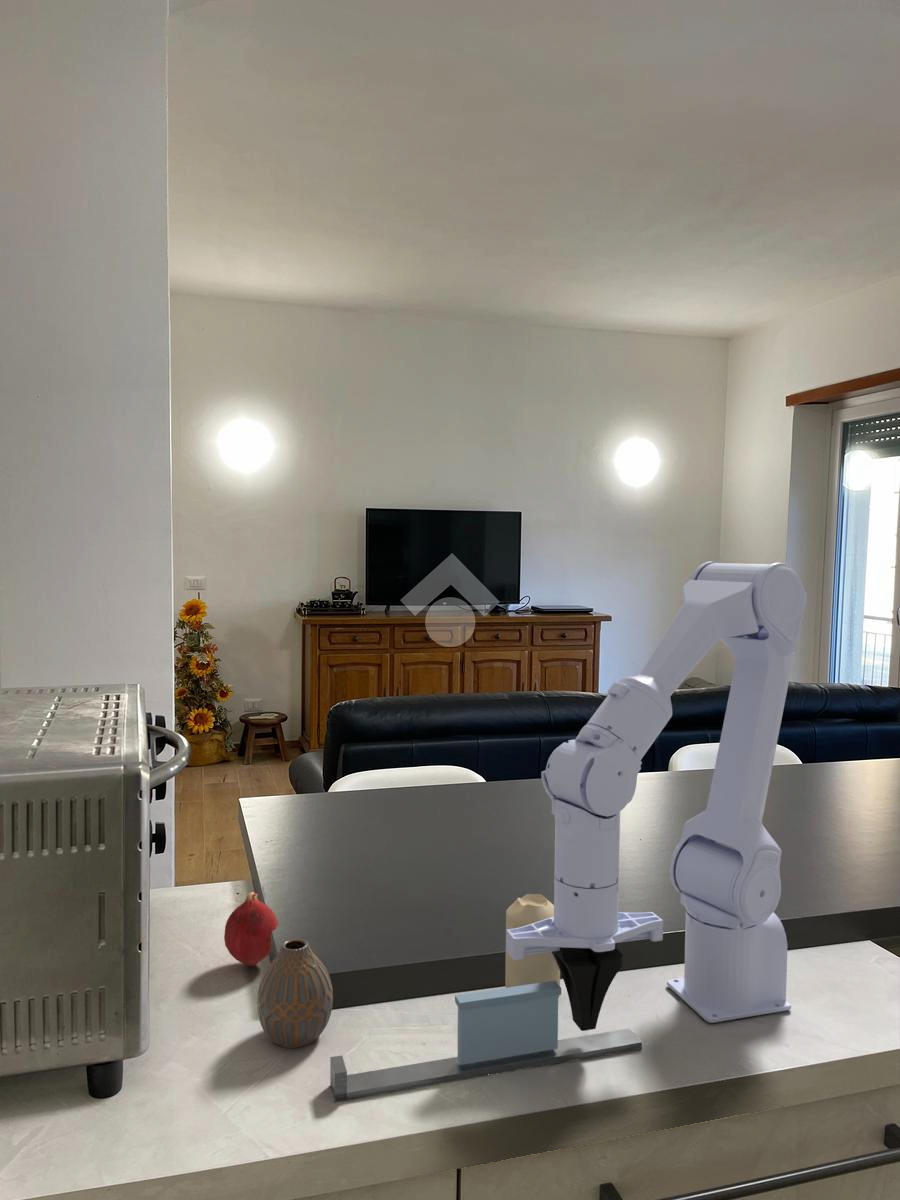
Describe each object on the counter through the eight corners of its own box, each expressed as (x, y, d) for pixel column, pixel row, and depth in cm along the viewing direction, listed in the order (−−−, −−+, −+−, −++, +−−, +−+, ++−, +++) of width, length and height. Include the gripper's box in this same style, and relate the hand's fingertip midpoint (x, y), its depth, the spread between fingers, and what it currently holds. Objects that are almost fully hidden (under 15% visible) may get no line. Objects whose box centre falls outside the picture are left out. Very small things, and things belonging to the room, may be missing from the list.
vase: (328, 1012, 85) (328, 924, 85) (336, 1052, 79) (336, 957, 78) (256, 1021, 84) (255, 931, 83) (258, 1062, 77) (257, 965, 76)
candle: (557, 1011, 86) (558, 912, 85) (501, 1005, 87) (502, 907, 86) (561, 984, 91) (563, 890, 90) (509, 979, 92) (510, 886, 91)
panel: (554, 1040, 79) (555, 980, 79) (560, 1049, 78) (561, 988, 77) (454, 1057, 76) (455, 995, 76) (459, 1066, 75) (459, 1003, 75)
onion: (279, 976, 92) (279, 902, 92) (223, 981, 91) (222, 906, 91) (278, 951, 98) (278, 881, 98) (225, 956, 97) (224, 885, 96)
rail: (629, 1034, 82) (629, 1009, 81) (641, 1048, 79) (642, 1023, 79) (330, 1084, 74) (330, 1057, 74) (334, 1101, 71) (334, 1073, 71)
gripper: (527, 902, 72) (525, 1061, 73) (682, 885, 76) (678, 1035, 77) (498, 872, 79) (496, 1018, 80) (642, 857, 83) (639, 996, 84)
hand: (584, 1024), depth 79 cm, fingers closed
